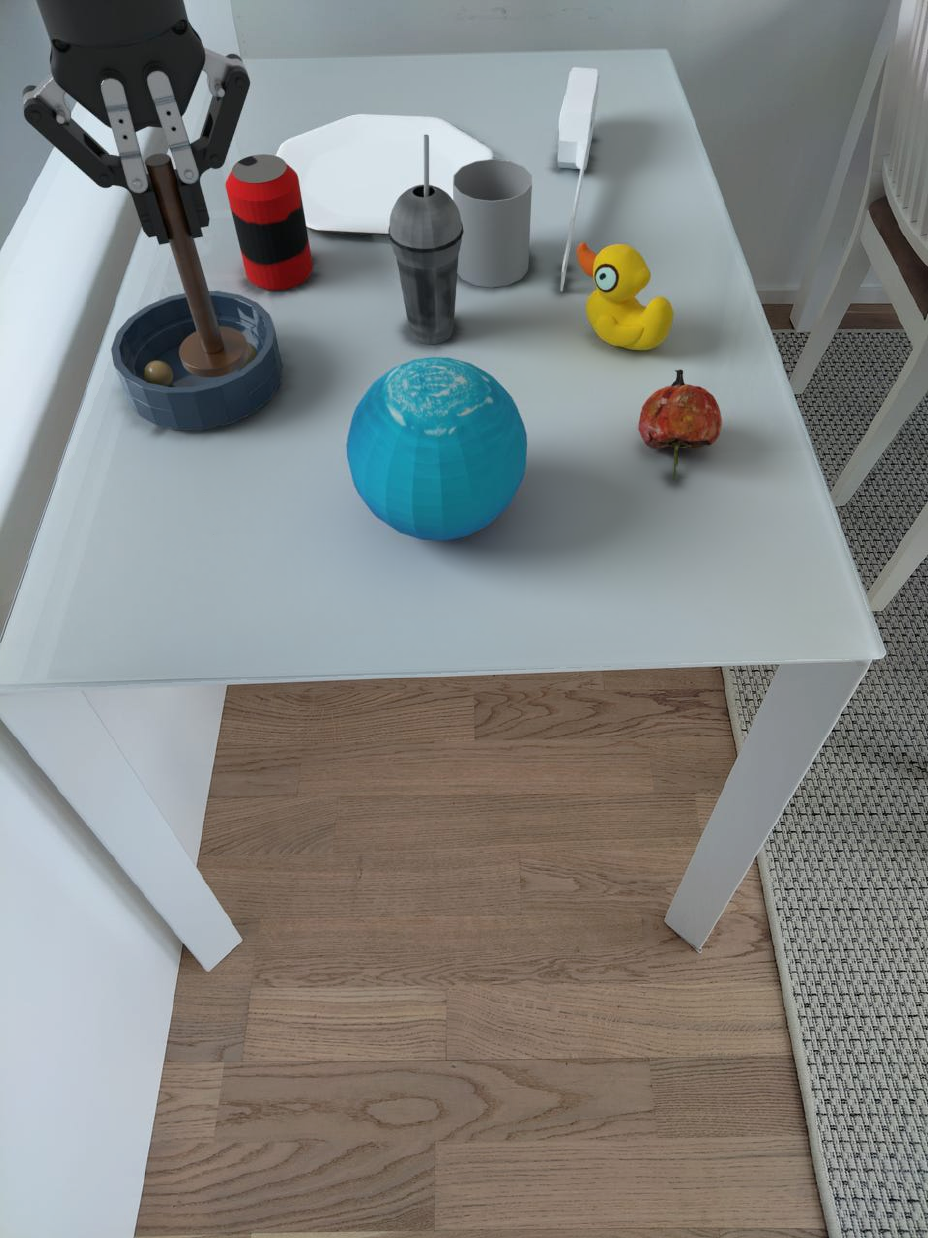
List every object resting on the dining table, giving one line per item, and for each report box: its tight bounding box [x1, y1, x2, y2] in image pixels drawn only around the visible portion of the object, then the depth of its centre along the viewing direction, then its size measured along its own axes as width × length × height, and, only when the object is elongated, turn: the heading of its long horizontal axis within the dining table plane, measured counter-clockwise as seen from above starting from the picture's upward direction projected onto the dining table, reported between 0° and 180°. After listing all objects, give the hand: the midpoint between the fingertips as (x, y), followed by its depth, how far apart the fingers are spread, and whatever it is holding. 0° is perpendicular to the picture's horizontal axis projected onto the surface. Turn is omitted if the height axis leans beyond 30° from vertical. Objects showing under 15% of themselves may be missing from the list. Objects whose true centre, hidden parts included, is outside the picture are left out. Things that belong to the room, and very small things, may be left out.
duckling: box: [576, 241, 674, 351], centre depth 92 cm, size 11×5×10 cm, turn 51°
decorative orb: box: [346, 356, 528, 541], centre depth 76 cm, size 15×15×15 cm
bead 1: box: [144, 360, 173, 387], centre depth 91 cm, size 3×3×3 cm
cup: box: [453, 158, 533, 289], centre depth 100 cm, size 8×8×10 cm
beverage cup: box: [388, 135, 464, 345], centre depth 90 cm, size 7×7×20 cm
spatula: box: [556, 66, 600, 293], centre depth 110 cm, size 38×8×4 cm
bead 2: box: [239, 342, 258, 370], centre depth 93 cm, size 3×3×3 cm
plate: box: [275, 113, 494, 237], centre depth 115 cm, size 28×28×2 cm
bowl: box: [110, 290, 284, 431], centre depth 91 cm, size 16×16×5 cm
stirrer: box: [144, 152, 249, 378], centre depth 63 cm, size 5×5×15 cm
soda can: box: [224, 154, 314, 292], centre depth 99 cm, size 8×8×12 cm
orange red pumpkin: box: [637, 368, 723, 481], centre depth 84 cm, size 7×7×10 cm
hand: (180, 233), depth 61 cm, fingers closed on stirrer
